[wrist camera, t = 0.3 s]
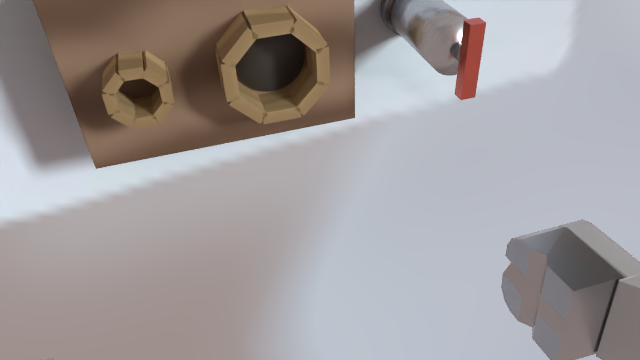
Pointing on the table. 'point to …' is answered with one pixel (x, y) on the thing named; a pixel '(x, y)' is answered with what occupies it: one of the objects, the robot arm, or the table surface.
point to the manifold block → (199, 70)
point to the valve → (440, 38)
